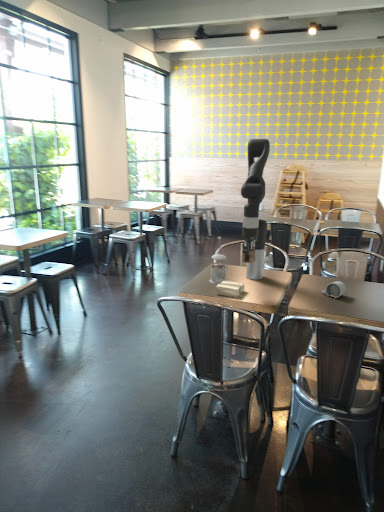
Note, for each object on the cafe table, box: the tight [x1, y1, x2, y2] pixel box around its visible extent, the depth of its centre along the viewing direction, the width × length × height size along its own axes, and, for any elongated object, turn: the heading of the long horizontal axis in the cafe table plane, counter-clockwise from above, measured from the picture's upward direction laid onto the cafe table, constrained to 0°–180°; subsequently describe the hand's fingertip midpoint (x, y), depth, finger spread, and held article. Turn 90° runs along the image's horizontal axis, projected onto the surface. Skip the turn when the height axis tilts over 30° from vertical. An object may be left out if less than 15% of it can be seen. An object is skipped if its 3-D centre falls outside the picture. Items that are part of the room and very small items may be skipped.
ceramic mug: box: [321, 280, 347, 299], centre depth 190 cm, size 11×8×8 cm
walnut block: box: [241, 249, 256, 264], centre depth 186 cm, size 5×5×6 cm
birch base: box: [215, 279, 245, 298], centre depth 192 cm, size 11×11×4 cm
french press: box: [208, 236, 229, 285], centre depth 206 cm, size 10×12×25 cm
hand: (248, 260), depth 186 cm, fingers closed on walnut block, 5 cm apart
